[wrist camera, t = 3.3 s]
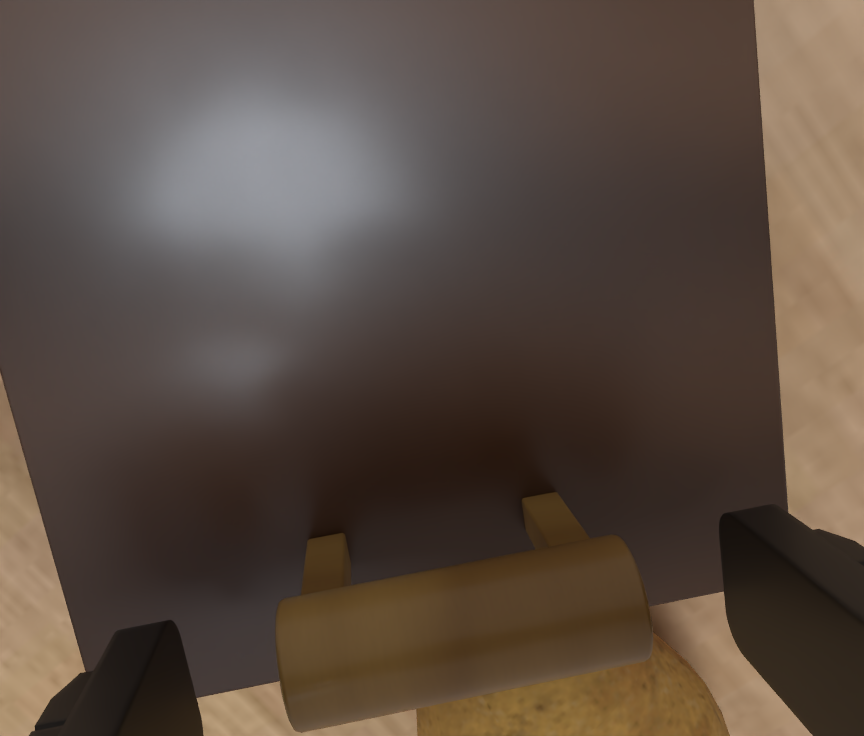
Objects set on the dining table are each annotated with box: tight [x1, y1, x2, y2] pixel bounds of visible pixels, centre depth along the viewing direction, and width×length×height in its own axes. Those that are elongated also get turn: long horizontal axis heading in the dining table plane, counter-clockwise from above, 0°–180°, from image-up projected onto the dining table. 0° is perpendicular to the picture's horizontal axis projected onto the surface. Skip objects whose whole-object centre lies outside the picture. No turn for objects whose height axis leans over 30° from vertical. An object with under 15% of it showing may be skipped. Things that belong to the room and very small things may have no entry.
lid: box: [0, 0, 788, 733], centre depth 12 cm, size 16×14×5 cm
